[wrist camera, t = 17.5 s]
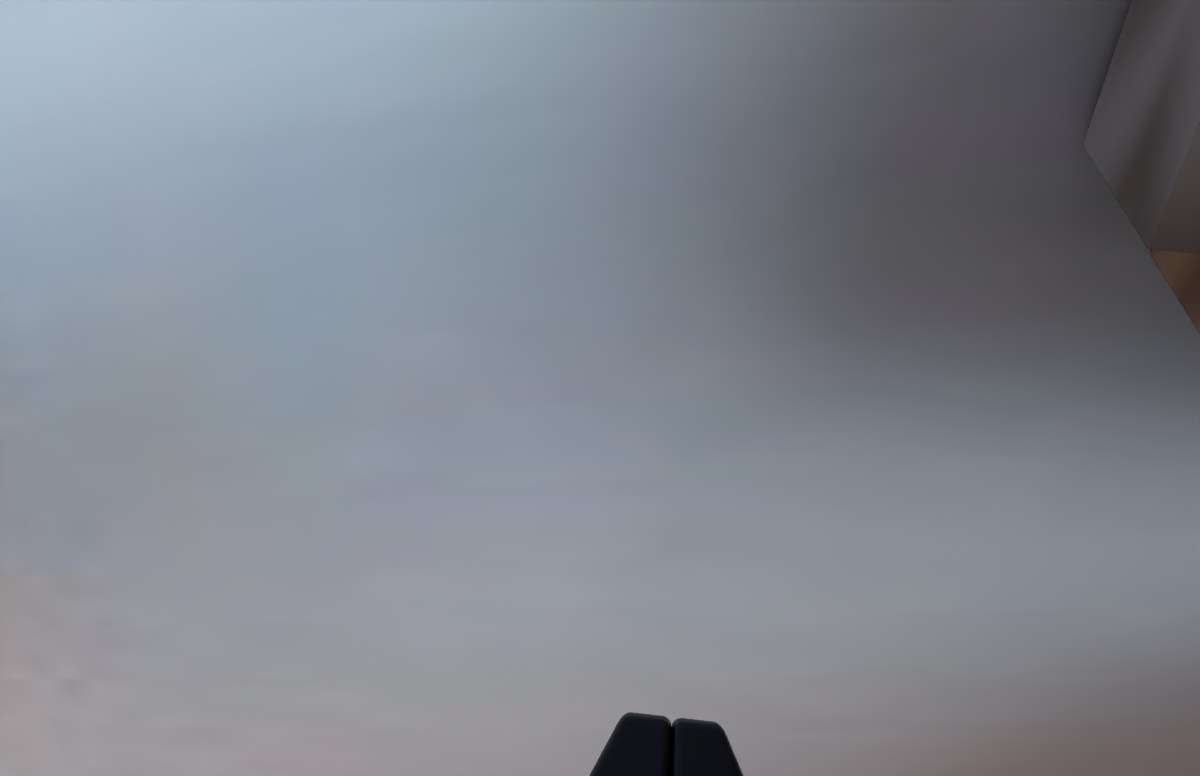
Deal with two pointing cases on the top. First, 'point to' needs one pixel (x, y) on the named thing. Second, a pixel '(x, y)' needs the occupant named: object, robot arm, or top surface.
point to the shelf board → (1153, 123)
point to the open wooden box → (1182, 279)
